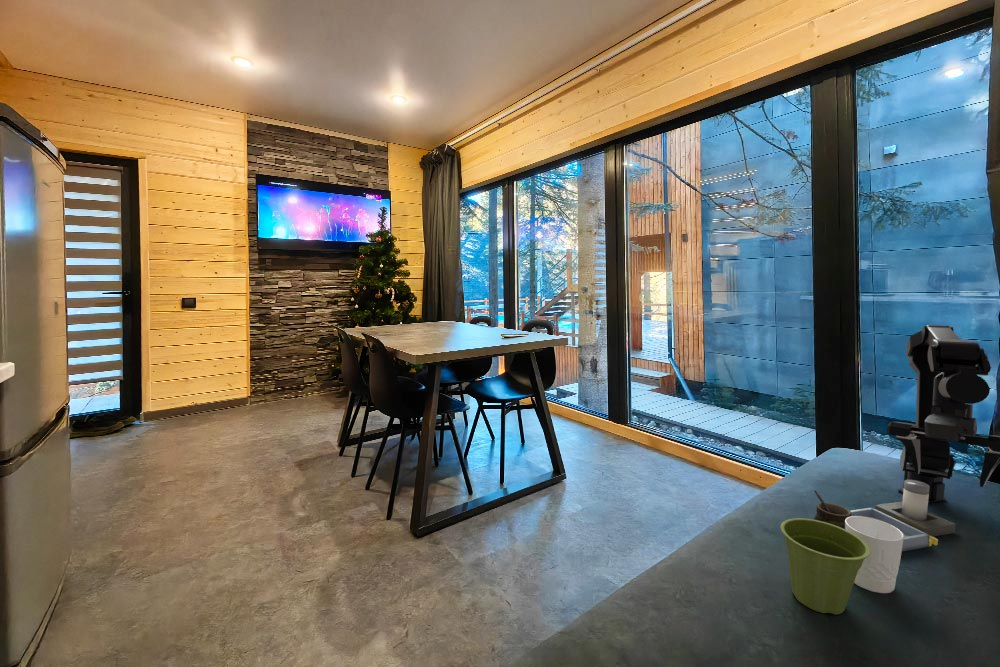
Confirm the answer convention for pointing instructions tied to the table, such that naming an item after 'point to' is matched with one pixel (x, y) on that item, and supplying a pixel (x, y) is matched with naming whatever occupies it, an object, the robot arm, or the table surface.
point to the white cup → (877, 553)
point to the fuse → (915, 500)
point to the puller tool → (933, 541)
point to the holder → (930, 526)
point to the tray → (911, 534)
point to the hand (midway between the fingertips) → (948, 479)
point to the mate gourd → (831, 513)
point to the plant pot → (822, 563)
